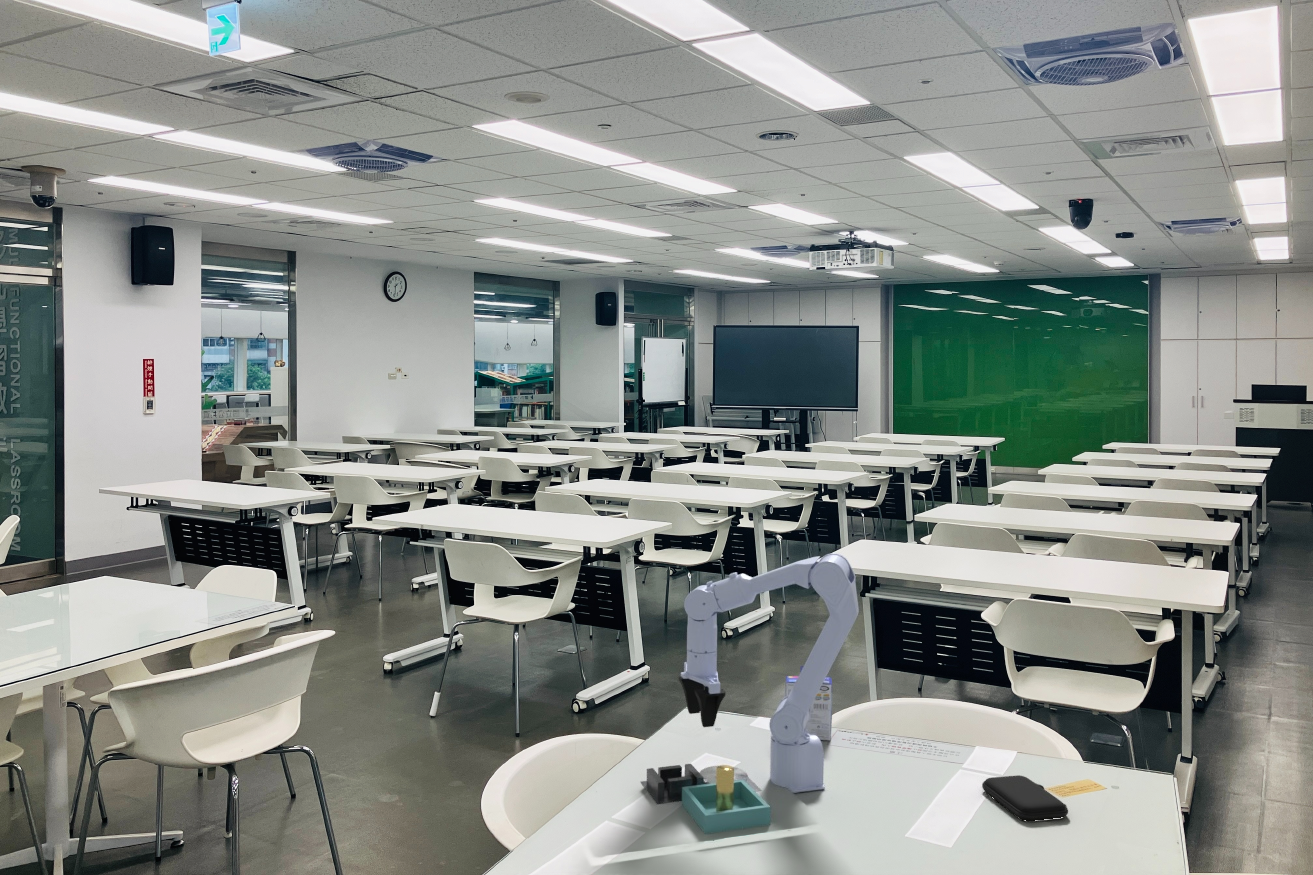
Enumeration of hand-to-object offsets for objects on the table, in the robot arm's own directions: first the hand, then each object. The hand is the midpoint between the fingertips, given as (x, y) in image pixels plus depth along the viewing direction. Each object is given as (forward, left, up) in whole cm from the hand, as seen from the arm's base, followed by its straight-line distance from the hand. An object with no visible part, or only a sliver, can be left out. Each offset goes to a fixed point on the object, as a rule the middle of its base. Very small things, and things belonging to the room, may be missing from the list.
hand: (701, 719), depth 184 cm
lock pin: (+3, +20, -9) cm, 22 cm away
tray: (+3, +20, -10) cm, 23 cm away
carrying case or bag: (-51, +30, -11) cm, 60 cm away
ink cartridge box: (-29, -12, -11) cm, 33 cm away
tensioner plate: (+3, +8, -10) cm, 13 cm away
